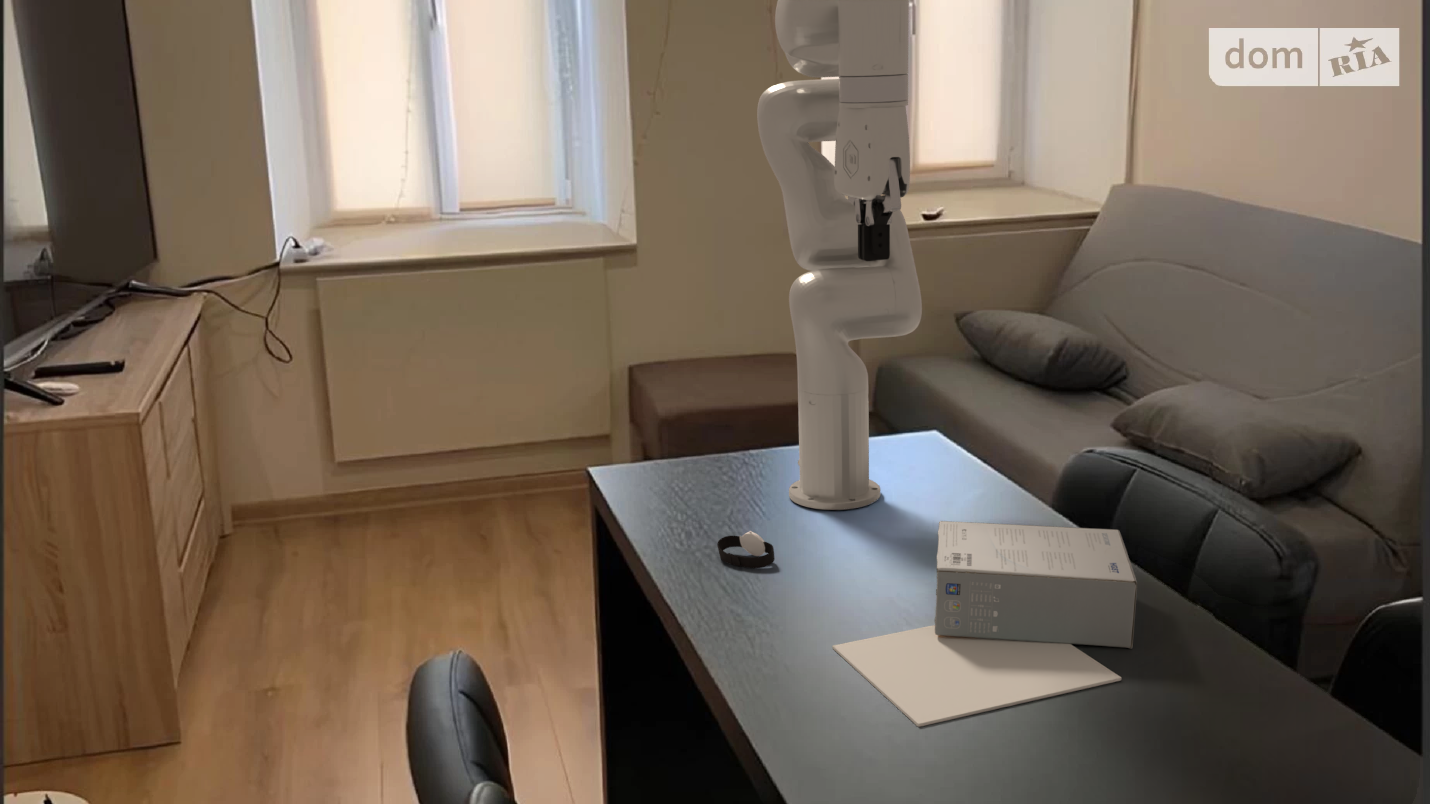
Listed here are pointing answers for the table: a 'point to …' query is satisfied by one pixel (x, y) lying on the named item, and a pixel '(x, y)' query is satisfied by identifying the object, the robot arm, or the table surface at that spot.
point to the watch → (751, 545)
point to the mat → (968, 672)
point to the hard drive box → (1034, 584)
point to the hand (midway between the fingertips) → (873, 258)
